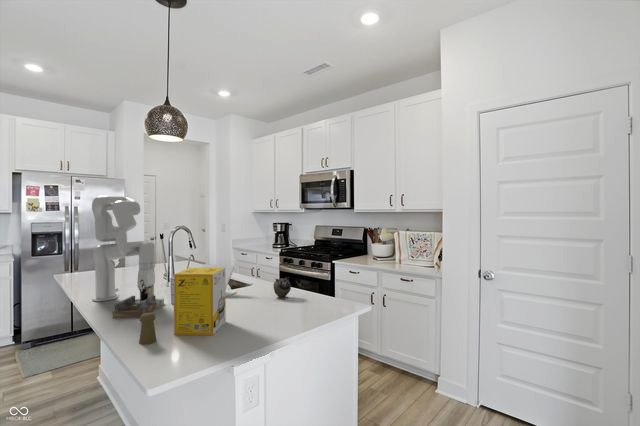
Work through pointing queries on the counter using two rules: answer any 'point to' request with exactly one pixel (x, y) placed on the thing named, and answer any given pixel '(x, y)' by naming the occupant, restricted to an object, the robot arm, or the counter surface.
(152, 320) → the cork
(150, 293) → the ash block
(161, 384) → the counter surface
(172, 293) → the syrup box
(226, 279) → the tablet stand
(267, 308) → the counter surface
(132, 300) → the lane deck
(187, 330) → the packaging box
